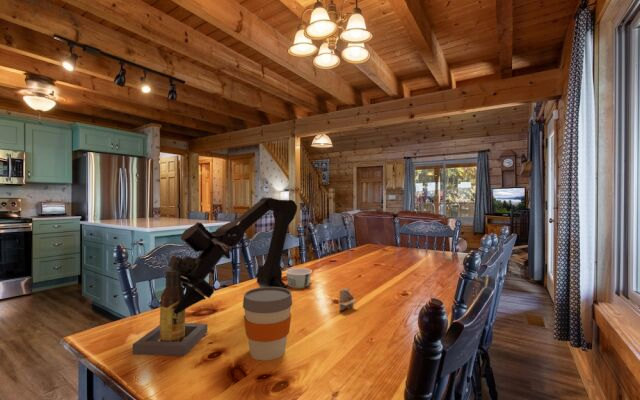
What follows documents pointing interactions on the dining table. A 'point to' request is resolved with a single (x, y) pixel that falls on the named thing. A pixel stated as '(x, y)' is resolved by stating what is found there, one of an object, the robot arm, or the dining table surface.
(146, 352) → the grey square frame
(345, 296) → the architectural model
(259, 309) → the reusable coffee cup
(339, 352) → the dining table surface
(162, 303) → the sauce bottle
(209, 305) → the dining table surface
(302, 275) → the food container
